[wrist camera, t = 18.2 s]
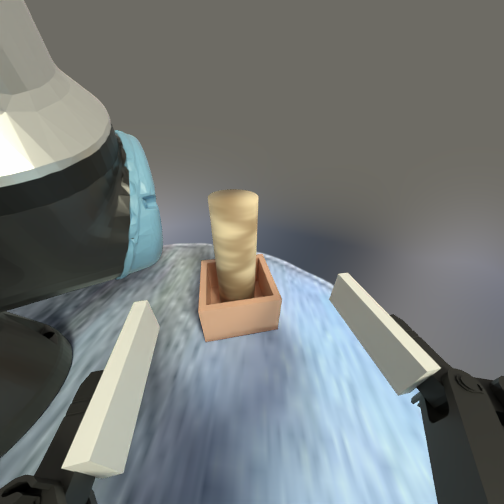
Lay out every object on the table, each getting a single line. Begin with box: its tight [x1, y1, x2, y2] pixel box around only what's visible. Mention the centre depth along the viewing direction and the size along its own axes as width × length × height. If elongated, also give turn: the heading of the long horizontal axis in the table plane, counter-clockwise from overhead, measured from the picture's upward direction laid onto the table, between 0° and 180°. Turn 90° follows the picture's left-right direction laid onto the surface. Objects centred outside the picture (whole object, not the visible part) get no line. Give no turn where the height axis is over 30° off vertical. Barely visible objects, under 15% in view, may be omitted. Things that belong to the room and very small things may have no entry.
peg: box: [208, 189, 258, 303], centre depth 22 cm, size 5×5×16 cm
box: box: [198, 254, 282, 342], centre depth 26 cm, size 10×10×6 cm
